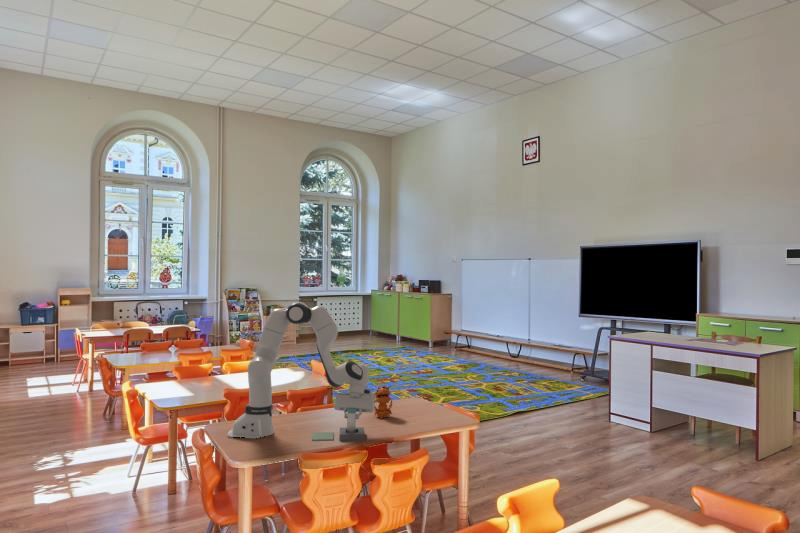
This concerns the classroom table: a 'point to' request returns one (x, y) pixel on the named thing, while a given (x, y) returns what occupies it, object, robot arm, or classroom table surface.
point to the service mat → (322, 436)
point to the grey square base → (352, 435)
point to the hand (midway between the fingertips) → (351, 418)
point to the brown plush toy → (383, 402)
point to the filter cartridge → (351, 420)
